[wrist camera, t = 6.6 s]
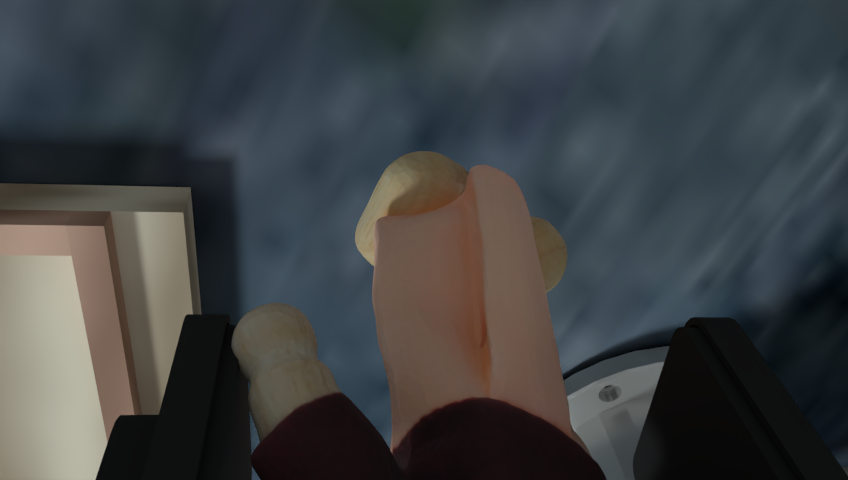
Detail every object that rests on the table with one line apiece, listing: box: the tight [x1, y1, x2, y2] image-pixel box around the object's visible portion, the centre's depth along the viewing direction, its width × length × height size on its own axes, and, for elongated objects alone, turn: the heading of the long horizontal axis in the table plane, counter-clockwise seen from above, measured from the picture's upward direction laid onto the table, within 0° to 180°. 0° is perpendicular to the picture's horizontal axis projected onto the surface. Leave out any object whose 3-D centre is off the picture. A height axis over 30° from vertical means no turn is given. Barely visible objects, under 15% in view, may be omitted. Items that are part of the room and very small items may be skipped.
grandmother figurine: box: [231, 151, 607, 480], centre depth 10 cm, size 8×4×13 cm, turn 62°
